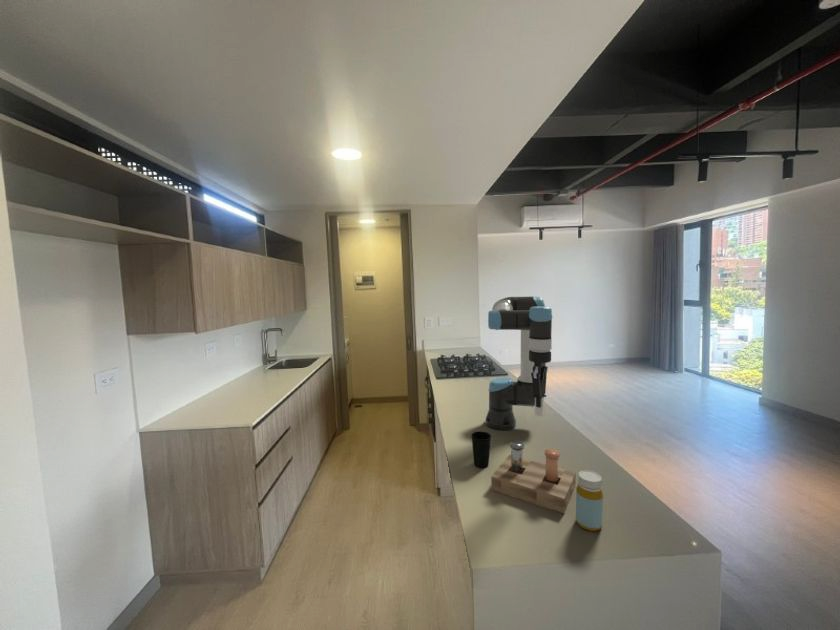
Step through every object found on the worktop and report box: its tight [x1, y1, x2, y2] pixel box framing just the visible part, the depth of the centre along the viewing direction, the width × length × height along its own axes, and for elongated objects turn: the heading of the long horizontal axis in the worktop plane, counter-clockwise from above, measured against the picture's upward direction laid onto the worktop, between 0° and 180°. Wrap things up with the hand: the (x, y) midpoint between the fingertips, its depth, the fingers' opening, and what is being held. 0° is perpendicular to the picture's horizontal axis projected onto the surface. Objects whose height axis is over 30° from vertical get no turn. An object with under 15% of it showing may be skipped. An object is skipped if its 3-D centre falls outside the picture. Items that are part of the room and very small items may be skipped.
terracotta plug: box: [544, 448, 561, 481], centre depth 119 cm, size 5×5×9 cm
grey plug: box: [509, 440, 525, 471], centre depth 125 cm, size 5×5×9 cm
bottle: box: [575, 470, 604, 532], centre depth 103 cm, size 7×7×15 cm
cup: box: [470, 431, 492, 469], centre depth 139 cm, size 8×8×12 cm
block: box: [490, 454, 577, 515], centre depth 123 cm, size 18×24×5 cm
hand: (539, 414), depth 126 cm, fingers closed
